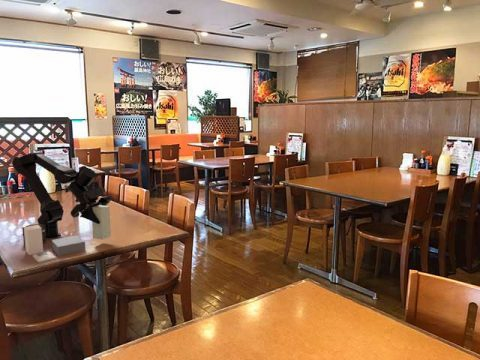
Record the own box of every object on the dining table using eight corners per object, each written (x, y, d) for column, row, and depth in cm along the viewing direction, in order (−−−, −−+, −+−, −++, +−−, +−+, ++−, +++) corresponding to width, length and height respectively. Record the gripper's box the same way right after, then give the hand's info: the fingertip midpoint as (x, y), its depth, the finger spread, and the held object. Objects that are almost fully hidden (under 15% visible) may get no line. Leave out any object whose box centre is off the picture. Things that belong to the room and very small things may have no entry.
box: (35, 245, 158) (34, 228, 156) (23, 244, 159) (21, 227, 158) (46, 240, 164) (44, 224, 162) (33, 239, 165) (32, 223, 164)
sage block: (93, 238, 158) (91, 207, 156) (101, 234, 163) (99, 205, 161) (102, 239, 157) (101, 208, 154) (110, 236, 161) (109, 206, 159)
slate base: (52, 249, 154) (51, 240, 153) (78, 244, 160) (77, 235, 160) (58, 256, 146) (57, 246, 146) (85, 251, 153) (84, 241, 152)
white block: (26, 251, 151) (23, 227, 149) (39, 248, 154) (37, 224, 152) (29, 255, 147) (27, 230, 145) (43, 252, 150) (41, 227, 149)
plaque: (32, 256, 146) (32, 254, 145) (49, 252, 149) (49, 251, 149) (38, 262, 140) (38, 260, 140) (55, 258, 144) (55, 256, 143)
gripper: (74, 185, 149) (98, 215, 147) (106, 177, 166) (128, 204, 164) (60, 202, 153) (83, 232, 151) (93, 193, 170) (114, 220, 168)
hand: (103, 221), depth 158 cm, fingers closed on sage block, 5 cm apart
